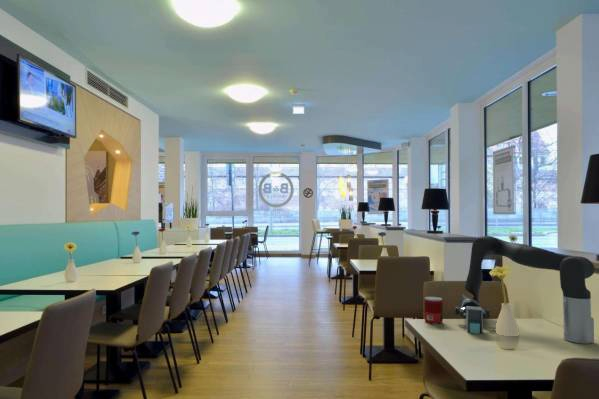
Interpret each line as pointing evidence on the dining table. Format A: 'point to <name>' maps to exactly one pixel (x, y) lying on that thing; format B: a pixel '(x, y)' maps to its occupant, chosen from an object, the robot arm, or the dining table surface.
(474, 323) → the teal block
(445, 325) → the dining table surface
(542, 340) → the dining table surface
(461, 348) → the dining table surface
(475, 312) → the tall grey pillar block
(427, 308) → the canned food
